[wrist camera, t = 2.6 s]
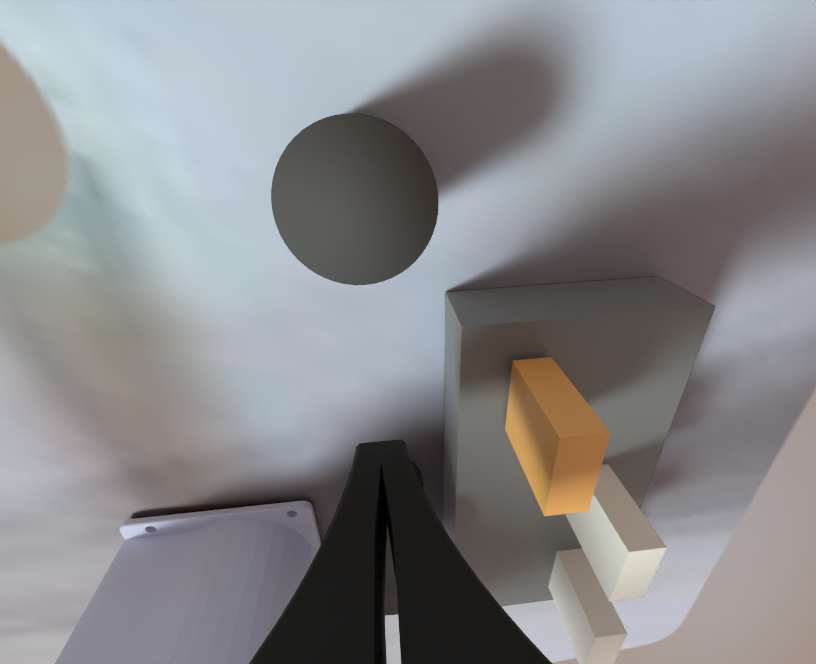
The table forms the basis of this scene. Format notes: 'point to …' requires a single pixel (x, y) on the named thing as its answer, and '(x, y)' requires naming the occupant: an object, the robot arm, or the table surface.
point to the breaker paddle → (554, 436)
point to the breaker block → (611, 401)
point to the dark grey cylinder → (354, 199)
